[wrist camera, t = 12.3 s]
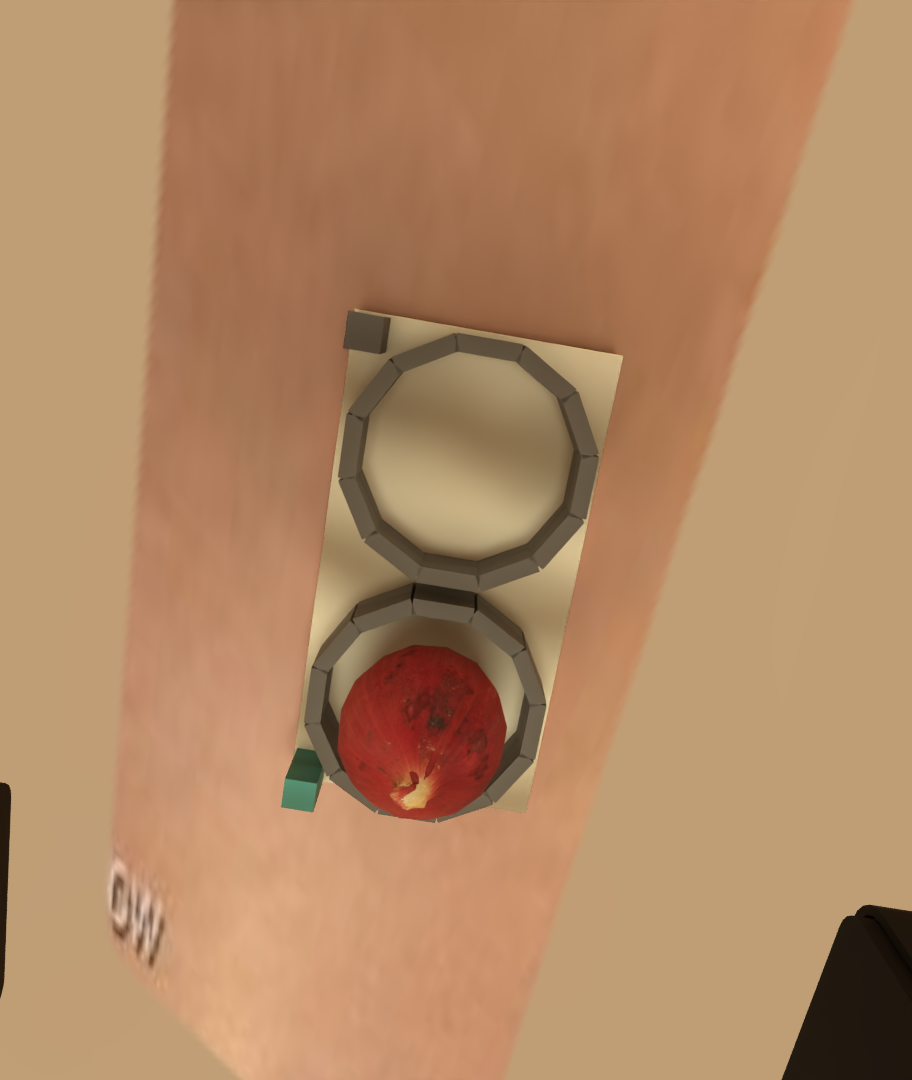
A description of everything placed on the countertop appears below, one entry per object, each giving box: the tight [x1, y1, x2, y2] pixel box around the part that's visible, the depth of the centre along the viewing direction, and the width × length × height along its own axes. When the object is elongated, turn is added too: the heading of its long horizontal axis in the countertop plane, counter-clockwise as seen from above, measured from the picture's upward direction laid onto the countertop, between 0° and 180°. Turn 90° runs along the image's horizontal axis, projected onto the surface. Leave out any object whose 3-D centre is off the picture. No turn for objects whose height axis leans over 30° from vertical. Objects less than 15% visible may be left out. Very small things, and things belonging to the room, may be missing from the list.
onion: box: [337, 645, 507, 820], centre depth 29 cm, size 6×6×8 cm
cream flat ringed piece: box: [281, 309, 623, 823], centre depth 32 cm, size 18×10×4 cm, turn 170°
